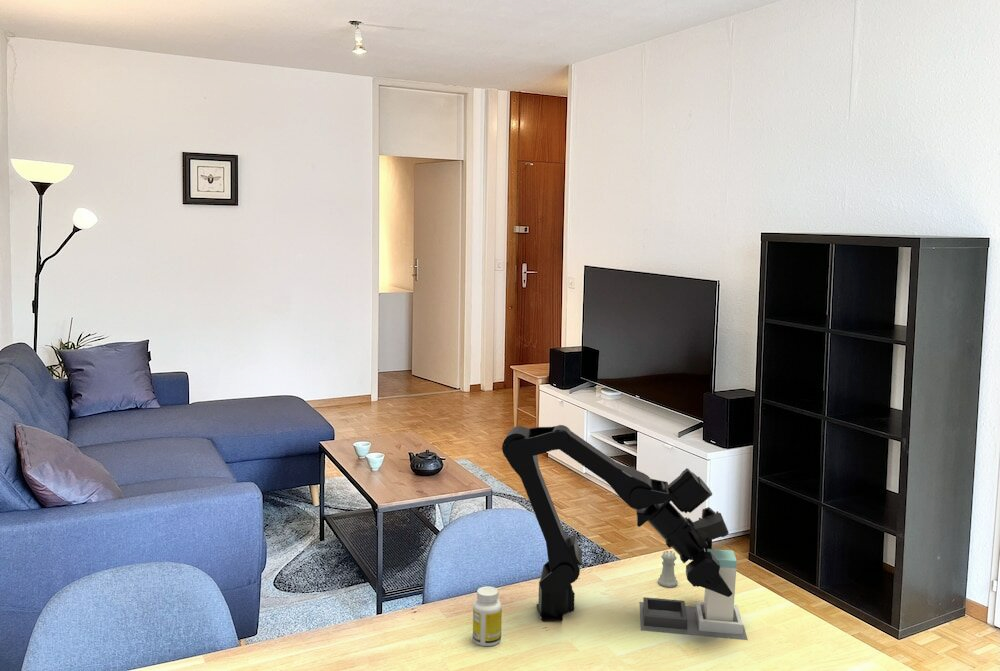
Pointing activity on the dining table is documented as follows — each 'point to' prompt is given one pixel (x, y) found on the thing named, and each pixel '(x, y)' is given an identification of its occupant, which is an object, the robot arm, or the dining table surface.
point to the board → (687, 619)
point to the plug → (717, 603)
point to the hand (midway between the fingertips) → (727, 584)
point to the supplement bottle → (487, 617)
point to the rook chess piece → (668, 570)
